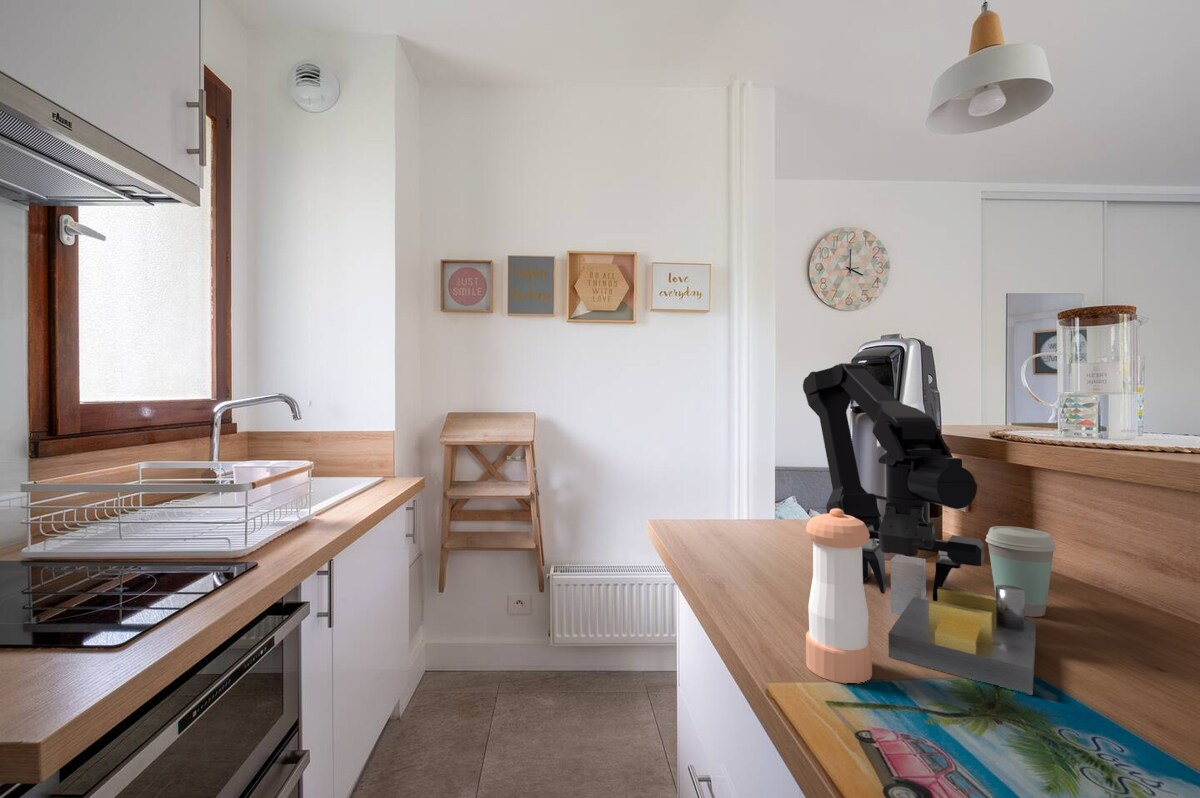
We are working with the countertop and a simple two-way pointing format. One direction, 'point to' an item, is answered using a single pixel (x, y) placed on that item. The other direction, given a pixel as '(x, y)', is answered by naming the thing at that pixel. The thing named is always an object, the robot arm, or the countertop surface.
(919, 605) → the gray yellow fixture base
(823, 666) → the salt shaker
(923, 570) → the grey rectangular block
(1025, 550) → the coffee cup
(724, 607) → the countertop surface
